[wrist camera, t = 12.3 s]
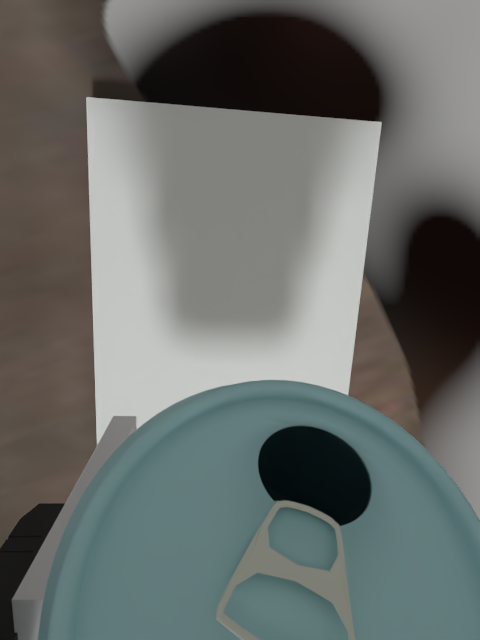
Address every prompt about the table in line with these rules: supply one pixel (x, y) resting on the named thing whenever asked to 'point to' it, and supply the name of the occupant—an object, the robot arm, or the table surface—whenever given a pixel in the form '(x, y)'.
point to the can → (268, 528)
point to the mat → (222, 249)
